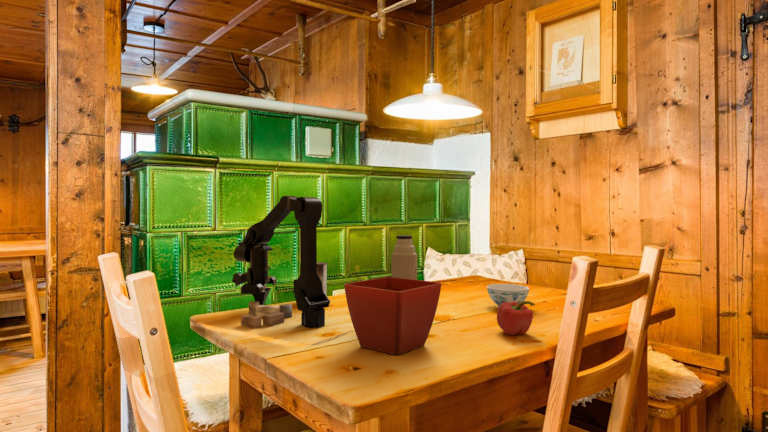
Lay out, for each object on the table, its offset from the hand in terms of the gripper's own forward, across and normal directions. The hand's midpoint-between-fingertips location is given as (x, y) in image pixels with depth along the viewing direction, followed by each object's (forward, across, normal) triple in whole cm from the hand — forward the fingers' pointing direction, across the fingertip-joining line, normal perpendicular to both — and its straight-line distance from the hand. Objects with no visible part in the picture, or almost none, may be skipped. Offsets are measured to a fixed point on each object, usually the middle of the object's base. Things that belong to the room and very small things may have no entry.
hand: (259, 310), depth 162 cm
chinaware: (+3, -23, +85) cm, 88 cm away
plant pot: (+2, +29, +46) cm, 55 cm away
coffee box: (+3, -19, +14) cm, 23 cm away
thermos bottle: (+2, +6, +48) cm, 49 cm away
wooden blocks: (+2, +14, +6) cm, 16 cm away
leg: (+1, +4, +5) cm, 6 cm away
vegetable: (+2, +14, +82) cm, 83 cm away
